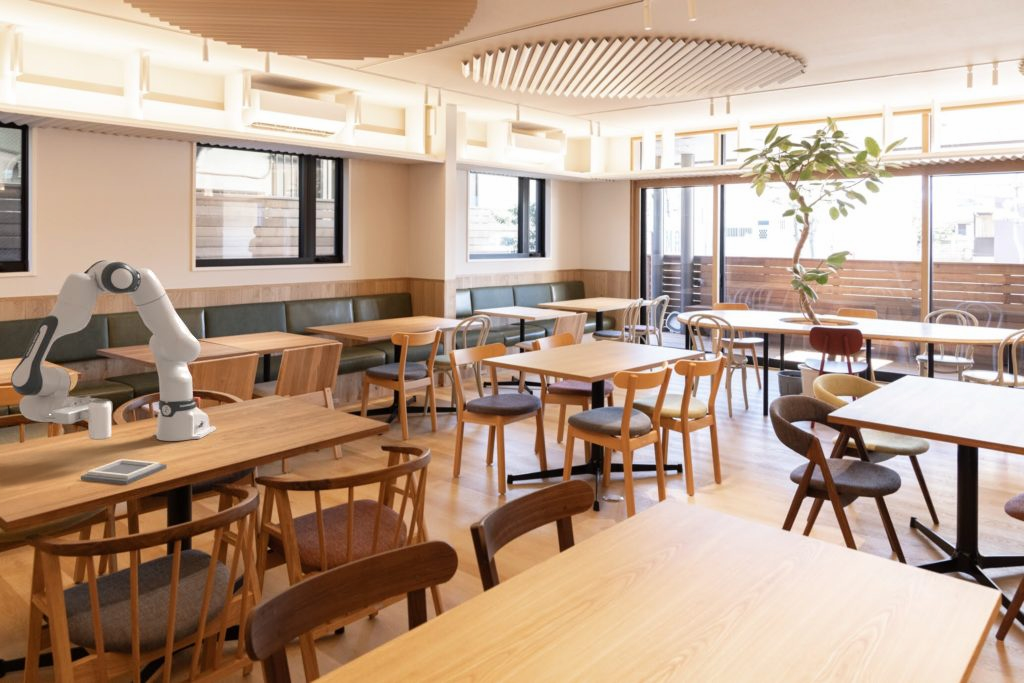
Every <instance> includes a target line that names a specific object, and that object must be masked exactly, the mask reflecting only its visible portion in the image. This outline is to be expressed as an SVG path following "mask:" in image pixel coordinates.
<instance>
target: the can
mask: <svg viewBox="0 0 1024 683" xmlns="http://www.w3.org/2000/svg"><path fill="white" fill-rule="evenodd" d="M109 401H111V400H110V399H109V398H108V399H107V398H98V399H94V400H90V404H89V406H88V412H89V413H90V418H88V438H89V439H90V440H94V441H95V440H96V441H98V440H101V441H102V440H107V439H110V438H111V437H112V413H111V404H110V402H109Z"/></svg>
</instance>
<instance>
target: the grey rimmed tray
mask: <svg viewBox="0 0 1024 683" xmlns="http://www.w3.org/2000/svg"><path fill="white" fill-rule="evenodd" d="M166 469H167V464H165V463H161V462H157V461H146V460H137V459H136V460H135V459H126V458H120V459H118V460H114V461H112V462H109V463H106V464H103V465H101V466H98V467H95V468H93V469H90V470H87V473H85V474H81V475H80V480H81V481H88V482H97V483H107V484H114V485H130V484H132V483H134V482H136V481H139V480H141V479H143V478H146V477H149V476H151V475H153V474H155V473H158V472H161V471H163V470H166Z"/></svg>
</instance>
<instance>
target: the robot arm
mask: <svg viewBox="0 0 1024 683" xmlns="http://www.w3.org/2000/svg"><path fill="white" fill-rule="evenodd" d="M63 282H64V283H63V284H62V286H61V289H60V290H59V294H58V296H57V297H56V301H55V304H54V306H53V308H52V310H51V311H50V312H49V314H48V315H47V316H45V317H44V318H42V320H41V321H40V322H39V324H38V326H37V328H36V329H35V332H34V334H33V336H32V337H31V340H30V342H29V344H28V346H27V348H26V349H25V352H24V354H23V356H22V358H21V360H20V361H19V363H18V365H17V366H16V367H15V368H14V370H13V371H12V373H11V378H10V382H11V386H12V388H13V389H14V391H15V392H16V393H17V394H18V395H20V396H24V397H22V398H21V399H20V401H19V411H20V412H21V414H22V416H24V418H26V419H28V420H31V421H34V422H41V423H51V422H52V423H55V424H60V425H73V424H75V423H77V422H81V421H84V420H86V419H88V418H90V413H89V412H88V406H89V404H90V400H94V399H99V398H97V397H96V398H94V397H91V396H90V395H83V396H69V393H70V389H71V384H72V379H71V376H70V374H69V372H68V371H67V370H66V369H64V368H60V367H54V366H45V365H44V362H45V360H46V358H47V355H48V354H49V352H50V350H51V347H52V345H53V343H54V342H55V341H56V340H57V339H59V338H61V337H63V336H66V335H70V334H74V333H78V332H80V331H82V330H83V329H85V328H86V327H87V326H88V324H90V321H91V318H92V315H93V312H94V309H95V305H96V301H97V300H98V298H99V297H100V296H101V295H102V294H104V293H107V294H119V295H121V294H127V295H129V297H130V299H131V300H132V302H133V305H134V306H135V308H136V311H138V314H139V316H140V318H141V320H142V321H143V324H144V325H145V326H146V327H147V328H148V329H149V331H150V332H151V333H152V335H151V337H150V338H149V342H148V344H149V345H148V346H149V349H150V351H151V353H152V356H153V359H154V362H155V367H156V370H157V375H158V382H159V383H158V384H159V385H158V386H159V399H158V409H159V412H158V414H157V423H156V424H157V425H156V431H155V432H154V436H156V439H157V440H160V441H165V442H166V441H167V442H177V441H179V442H180V441H188V440H198V439H202V438H205V437H206V436H208V435H209V434H211V433H213V432H214V431H216V430H217V428H216V426H214V425H210V418H209V416H208V414H207V413H206V412H204V411H203V410H201V409H200V408H199V407H198V406H197V403H201V397H199V396H194V395H193V394H194V393H193V391H194V390H193V376H192V374H191V372H190V369H189V367H188V363H192V362H194V361H195V360H197V358H198V357H199V356H200V354H201V351H202V350H201V349H202V348H201V343H200V342H199V340H198V339H197V338H196V337H195V336H194V335H193V334H192V333H191V331H190V329H189V328H188V326H187V325H186V324H185V323H184V321H183V320H182V318H181V317H180V316H179V315H178V313H177V311H176V309H175V307H174V306H173V303H172V302H171V300H170V298H169V296H168V294H167V291H166V290H165V288H164V286H163V284H162V282H161V281H160V279H159V278H158V277H157V276H156V274H155V273H154V272H153V271H152V270H151V269H149V268H147V267H140V268H136V269H135V268H133V267H132V266H130V265H129V264H127V263H125V262H121V261H118V260H99V261H96V262H95V263H93V264H91V266H89V268H88V269H86V270H85V271H84V272H73V273H70V274H69V275H68V276H67V277H66V279H65V281H63ZM109 402H110V404H111V414H112V412H113V410H114V409H113V402H112V401H111V400H110V401H109Z"/></svg>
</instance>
